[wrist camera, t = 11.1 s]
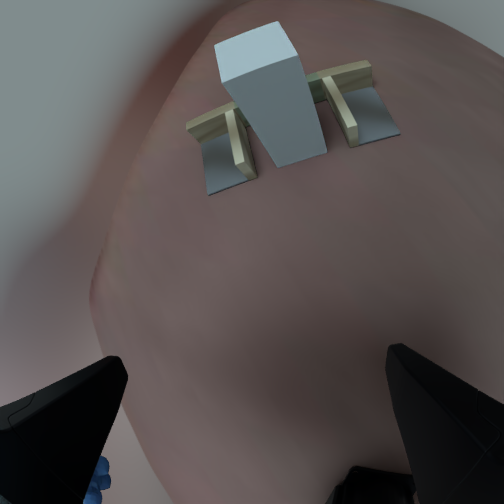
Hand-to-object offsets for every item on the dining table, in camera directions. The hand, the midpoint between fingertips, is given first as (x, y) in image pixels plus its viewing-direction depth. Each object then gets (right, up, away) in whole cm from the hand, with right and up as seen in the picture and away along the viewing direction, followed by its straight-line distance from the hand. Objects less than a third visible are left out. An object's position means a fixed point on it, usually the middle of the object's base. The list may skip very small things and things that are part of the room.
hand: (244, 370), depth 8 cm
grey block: (+4, +14, +16) cm, 21 cm away
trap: (+4, +14, +16) cm, 21 cm away
